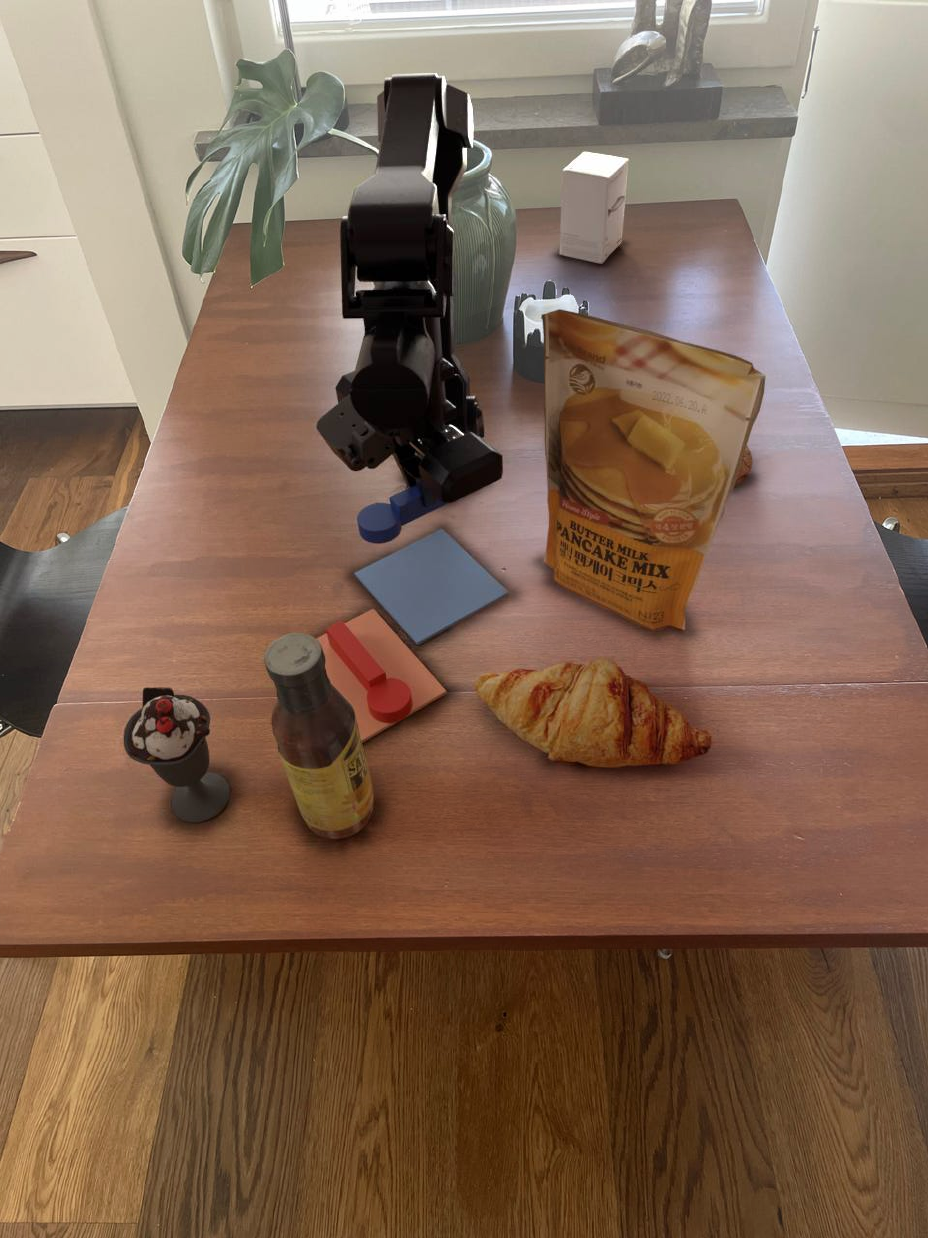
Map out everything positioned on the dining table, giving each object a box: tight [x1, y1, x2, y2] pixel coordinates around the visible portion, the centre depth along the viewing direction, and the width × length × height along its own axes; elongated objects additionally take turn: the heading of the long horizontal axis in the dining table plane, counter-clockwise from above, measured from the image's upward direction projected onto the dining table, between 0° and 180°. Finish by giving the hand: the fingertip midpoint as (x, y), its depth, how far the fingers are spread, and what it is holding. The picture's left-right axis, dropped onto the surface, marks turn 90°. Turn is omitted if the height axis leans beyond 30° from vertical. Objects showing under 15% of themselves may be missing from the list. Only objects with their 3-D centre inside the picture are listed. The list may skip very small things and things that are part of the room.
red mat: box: [316, 608, 447, 744], centre depth 87 cm, size 10×13×1 cm
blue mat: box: [354, 528, 510, 646], centre depth 94 cm, size 11×12×1 cm
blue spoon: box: [356, 484, 449, 545], centre depth 87 cm, size 12×4×2 cm, turn 125°
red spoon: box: [325, 620, 413, 724], centre depth 85 cm, size 12×4×2 cm, turn 35°
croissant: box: [474, 657, 713, 768], centre depth 79 cm, size 21×10×8 cm, turn 69°
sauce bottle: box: [263, 632, 375, 840], centre depth 70 cm, size 7×6×20 cm
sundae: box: [123, 686, 231, 824], centre depth 73 cm, size 7×7×15 cm
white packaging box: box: [558, 151, 629, 265], centre depth 135 cm, size 7×7×13 cm
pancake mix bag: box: [540, 308, 766, 633], centre depth 82 cm, size 7×19×28 cm, turn 52°
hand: (423, 499), depth 87 cm, fingers closed on blue spoon, 2 cm apart
